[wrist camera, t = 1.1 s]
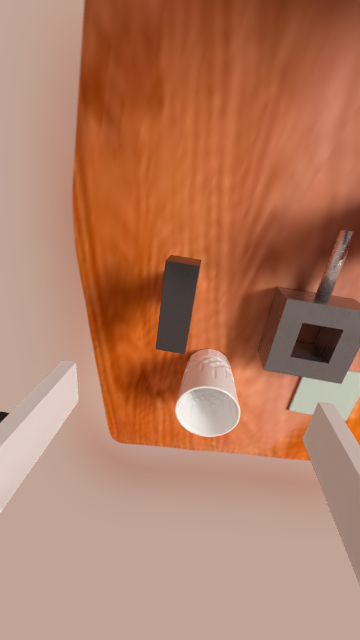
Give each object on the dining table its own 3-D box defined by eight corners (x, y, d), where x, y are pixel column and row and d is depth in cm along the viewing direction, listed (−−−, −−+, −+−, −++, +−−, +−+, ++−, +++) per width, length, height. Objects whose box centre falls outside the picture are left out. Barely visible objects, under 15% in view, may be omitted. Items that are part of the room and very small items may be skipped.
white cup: (212, 335, 38) (212, 375, 29) (244, 371, 40) (253, 419, 30) (173, 362, 40) (162, 406, 31) (204, 394, 42) (202, 445, 33)
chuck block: (296, 223, 30) (311, 225, 26) (382, 235, 30) (412, 240, 25) (257, 350, 38) (263, 370, 33) (325, 362, 37) (341, 384, 33)
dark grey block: (181, 243, 33) (165, 260, 22) (203, 247, 33) (199, 266, 22) (172, 307, 37) (155, 349, 26) (193, 311, 37) (184, 354, 26)
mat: (307, 362, 38) (308, 364, 37) (369, 373, 37) (370, 375, 37) (288, 408, 41) (289, 410, 41) (344, 419, 41) (345, 421, 41)
